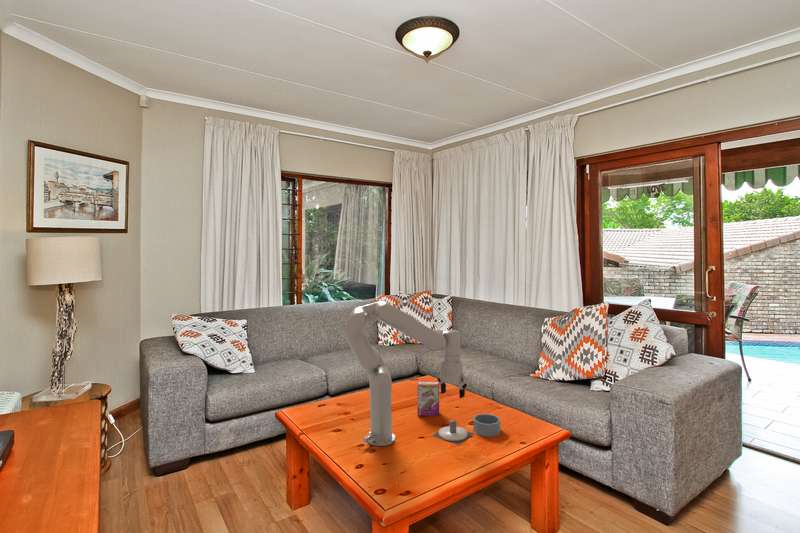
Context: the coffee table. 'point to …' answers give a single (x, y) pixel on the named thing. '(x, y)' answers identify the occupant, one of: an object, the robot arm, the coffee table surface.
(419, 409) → the candy bar box
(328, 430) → the coffee table surface
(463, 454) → the coffee table surface
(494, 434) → the pot
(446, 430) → the lid
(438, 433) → the mat
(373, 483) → the coffee table surface
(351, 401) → the coffee table surface
